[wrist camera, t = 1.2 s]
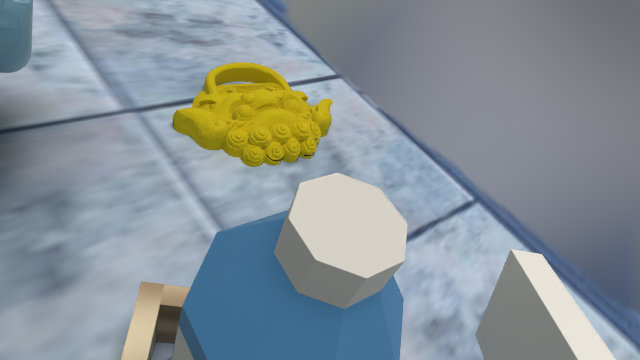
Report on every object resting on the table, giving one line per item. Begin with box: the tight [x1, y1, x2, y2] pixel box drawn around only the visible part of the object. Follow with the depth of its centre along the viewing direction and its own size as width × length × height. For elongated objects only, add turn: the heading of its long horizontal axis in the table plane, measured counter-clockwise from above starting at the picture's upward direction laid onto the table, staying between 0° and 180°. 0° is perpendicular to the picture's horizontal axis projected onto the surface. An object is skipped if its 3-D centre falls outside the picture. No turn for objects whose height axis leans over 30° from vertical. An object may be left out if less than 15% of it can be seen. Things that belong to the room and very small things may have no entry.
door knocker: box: [173, 63, 333, 167], centre depth 54 cm, size 17×16×4 cm
